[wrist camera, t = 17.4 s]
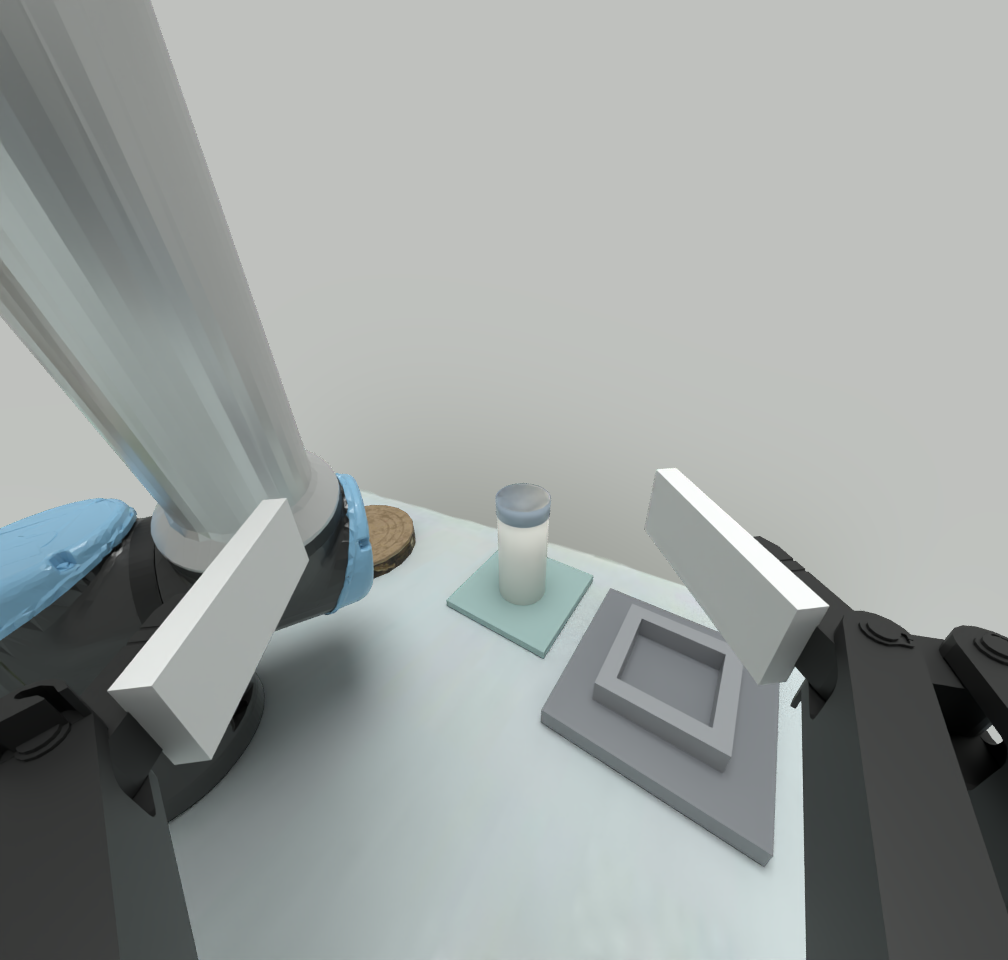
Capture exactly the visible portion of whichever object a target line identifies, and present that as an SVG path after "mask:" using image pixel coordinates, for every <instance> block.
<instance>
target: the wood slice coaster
mask: <svg viewBox="0 0 1008 960" xmlns="http://www.w3.org/2000/svg"><path fill="white" fill-rule="evenodd" d="M364 507H365V512H366V516H367V521H368V526H369V536H370V538H369V541H370V543H371V547H372V554H373V567H374V575H373V579H374V578H376V577H379V576H381V575H384V574H386V573H388V572H390V571H391V570H393V569H394V568H396V567H397V566H399V565H400V564H402V563H403V562H404V561H405V559H406V558H407V557H408V556H409V555H410V554H411V552H412V550H413V548H414V545H415V533H414V527H413V521H412V519H411V518H410V516H409V515H408V514H407V513H406V512H404V511H402V510H400V509H399V508H395V507H391V506H386V505H370V506H364Z"/></svg>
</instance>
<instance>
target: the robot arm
mask: <svg viewBox="0 0 1008 960" xmlns="http://www.w3.org/2000/svg"><path fill="white" fill-rule="evenodd" d="M0 316H1V317H2V318H3V320H4V321H5V322H6V323H7V324H8V326H9V327H10V328H11V329H12V330H13V331H14V333H15V334H16V335H17V336H18V337H19V339H20V340H21V341H22V342H23V343H24V344H25V346H26V347H27V348H28V349H29V350H30V352H31V353H32V354H33V355H34V356H35V358H36V359H37V360H38V361H39V362H40V364H41V365H42V366H43V367H44V368H45V369H46V371H47V372H48V373H49V374H50V375H51V377H52V378H53V379H54V380H55V381H56V382H57V384H58V385H59V386H60V387H61V388H62V390H63V391H64V392H65V393H66V394H67V396H68V397H69V398H70V399H71V400H72V402H73V403H74V404H75V405H76V406H77V407H78V409H79V410H80V411H81V412H82V413H83V415H84V416H85V417H86V418H87V419H88V420H89V421H90V423H91V424H92V425H93V426H94V428H95V429H96V430H97V431H98V432H99V434H100V435H101V436H102V437H103V438H104V439H105V440H106V442H107V443H108V444H109V445H110V447H111V448H112V449H113V450H114V451H115V453H116V454H117V455H118V456H119V457H120V458H121V460H122V461H123V462H124V463H125V464H126V466H127V467H128V468H129V469H130V470H131V471H132V473H133V474H134V475H135V476H136V477H137V479H138V480H139V481H140V482H141V483H142V484H143V486H144V487H145V488H146V489H147V490H148V492H149V493H150V494H151V495H152V496H153V498H154V499H155V500H156V501H157V502H158V503H157V505H156V508H155V510H154V512H153V515H152V516H151V517H146V518H137V517H136V515H137V513H136V511H135V510H134V508H132V507H129V506H128V505H127V504H126V503H124V502H122V501H121V500H117V499H103V498H96V499H89V500H84V501H79V502H74V503H70V504H66V505H63V506H59V507H56V508H53V509H49V510H46V511H43V512H41V513H38V514H35V515H32V516H29V517H27V518H24V519H21V520H19V521H16V522H14V523H12V524H9V525H7V526H4V527H2V528H0V960H198V956H197V952H196V947H195V943H194V938H193V934H192V929H191V925H190V921H189V916H188V912H187V907H186V903H185V898H184V894H183V889H182V885H181V881H180V876H179V872H178V867H177V863H176V858H175V854H174V849H173V845H172V841H171V836H170V832H169V827H168V823H167V822H168V821H170V820H172V819H173V818H175V817H176V816H178V815H179V814H181V813H182V812H184V811H185V810H186V809H188V808H189V807H190V806H192V805H193V804H194V803H196V802H197V801H198V800H199V799H200V798H202V797H203V796H204V795H205V794H206V793H207V792H208V791H210V790H211V789H212V788H213V787H214V786H215V785H216V784H217V783H218V782H219V781H220V780H221V779H222V778H223V777H224V776H225V774H226V773H227V772H228V771H229V770H230V769H231V768H232V766H233V765H234V764H235V763H236V761H237V760H238V759H239V757H240V756H241V755H242V753H243V752H244V750H245V749H246V747H247V746H248V744H249V742H250V741H251V739H252V737H253V735H254V733H255V731H256V729H257V727H258V724H259V722H260V719H261V716H262V712H263V707H264V690H263V686H262V683H261V681H260V679H259V677H258V676H257V674H256V672H255V670H256V668H257V666H258V664H259V662H260V659H261V657H262V655H263V653H264V651H265V649H266V647H267V645H268V643H269V641H270V639H271V637H272V635H273V633H274V631H277V630H280V629H283V628H286V627H289V626H291V625H294V624H297V623H300V622H303V621H306V620H308V619H311V618H314V617H317V616H320V615H323V614H325V615H329V614H333V613H335V612H336V611H337V610H339V608H342V607H344V606H347V605H349V604H352V603H354V602H356V601H359V600H361V599H362V598H364V597H365V596H366V595H367V594H368V592H369V591H370V589H371V587H372V583H373V575H374V567H373V554H372V547H371V543H370V541H369V538H370V536H369V526H368V521H367V516H366V512H365V507H364V503H363V500H362V496H361V493H360V490H359V487H358V485H357V483H356V481H355V479H354V478H353V477H352V476H351V475H348V474H338V473H336V474H335V473H334V471H333V469H332V468H331V466H330V465H329V464H328V463H327V462H326V461H325V460H324V459H323V458H321V457H320V456H318V455H316V454H314V453H312V452H310V451H308V450H305V448H304V445H303V442H302V440H301V437H300V434H299V431H298V428H297V425H296V422H295V420H294V416H293V414H292V411H291V408H290V405H289V402H288V399H287V396H286V393H285V390H284V387H283V384H282V382H281V379H280V376H279V373H278V370H277V367H276V364H275V361H274V358H273V355H272V353H271V350H270V347H269V344H268V341H267V338H266V335H265V332H264V329H263V326H262V323H261V320H260V318H259V315H258V312H257V309H256V306H255V303H254V300H253V297H252V294H251V291H250V289H249V285H248V283H247V280H246V277H245V274H244V271H243V268H242V265H241V262H240V259H239V256H238V254H237V251H236V248H235V245H234V242H233V239H232V236H231V233H230V230H229V228H228V224H227V222H226V219H225V216H224V213H223V210H222V207H221V204H220V201H219V198H218V195H217V193H216V190H215V187H214V184H213V181H212V178H211V175H210V172H209V169H208V166H207V163H206V160H205V158H204V155H203V152H202V149H201V146H200V143H199V140H198V137H197V134H196V131H195V129H194V126H193V123H192V120H191V117H190V115H189V111H188V108H187V105H186V103H185V100H184V97H183V94H182V91H181V88H180V85H179V82H178V79H177V77H176V73H175V70H174V68H173V65H172V62H171V59H170V56H169V53H168V50H167V47H166V44H165V42H164V38H163V35H162V33H161V30H160V27H159V24H158V21H157V18H156V15H155V12H154V9H153V7H152V4H151V1H150V0H0ZM644 530H645V531H646V532H647V533H648V535H649V536H650V538H651V539H652V540H653V542H654V543H655V545H656V546H657V547H658V549H659V550H660V551H661V553H662V554H663V555H664V557H665V558H666V560H667V561H668V562H669V564H670V565H671V566H672V568H673V569H674V571H675V572H676V573H677V575H678V576H679V577H680V579H681V580H682V582H683V583H684V584H685V586H686V587H687V588H688V590H689V591H690V592H691V594H692V595H693V597H694V598H695V599H696V601H697V602H698V603H699V605H700V606H701V607H702V609H703V610H704V612H705V613H706V614H707V616H708V617H709V618H710V620H711V621H712V623H713V624H714V625H715V627H716V628H717V629H718V631H719V632H720V633H721V635H722V636H723V638H724V639H725V640H726V642H727V643H728V644H729V646H730V647H731V648H732V650H733V651H734V653H735V654H736V655H737V657H738V658H739V659H740V661H741V662H742V664H743V665H744V666H745V668H746V669H747V670H748V672H749V673H750V674H751V676H752V677H753V679H754V680H755V681H756V683H757V684H758V685H765V684H773V683H780V682H786V681H787V679H788V678H789V676H790V674H791V673H792V671H793V669H794V667H796V668H797V669H798V670H799V671H800V672H801V674H802V675H803V676H804V677H805V680H804V682H803V683H802V685H801V686H800V688H799V690H798V691H797V693H796V695H795V696H794V698H793V700H792V703H791V707H793V708H796V707H797V706H798V704H799V702H800V701H801V703H802V757H803V811H804V865H805V919H806V960H1008V638H1007V637H1005V636H1002V635H1000V634H998V633H995V632H993V631H989V630H986V629H982V628H979V627H975V626H964V625H963V626H959V627H956V628H954V629H953V630H952V631H951V633H950V634H949V635H948V636H947V637H946V639H945V640H943V639H936V638H929V637H922V636H916V635H911V634H909V633H908V632H907V631H906V630H905V629H904V628H902V627H901V626H899V625H897V624H896V623H894V622H893V621H891V620H889V619H887V618H884V617H882V616H879V615H877V614H874V613H869V612H865V611H854V610H852V609H851V608H850V607H849V606H848V605H847V604H845V603H844V602H843V601H842V600H841V599H840V598H838V597H837V596H836V595H835V594H834V593H833V592H831V591H830V590H829V589H828V588H827V587H825V586H824V585H823V584H822V583H821V582H820V581H819V580H817V579H816V578H815V577H814V576H813V575H812V574H810V573H809V572H806V571H805V568H803V567H802V566H801V565H800V564H799V563H798V562H796V561H793V558H792V557H790V556H789V555H788V554H787V553H786V552H785V551H783V550H782V549H781V548H780V547H778V546H777V545H775V544H773V543H772V542H770V541H768V540H766V539H764V538H762V537H760V536H757V537H752V536H751V535H750V534H749V533H748V532H747V531H746V530H744V529H743V528H742V527H741V526H740V525H739V524H738V523H737V522H735V521H734V520H733V519H732V518H731V517H730V516H729V515H728V514H727V513H725V512H724V511H723V510H722V509H721V508H720V507H719V506H718V505H717V504H715V503H714V502H713V501H712V500H711V499H710V498H709V497H708V496H707V495H705V494H704V493H703V492H702V491H701V490H700V489H699V488H698V487H697V486H695V485H694V484H693V483H692V482H691V481H690V480H689V479H688V478H687V477H685V476H684V475H683V474H682V473H681V472H680V471H679V470H678V469H677V468H668V469H657V470H656V473H655V478H654V483H653V488H652V493H651V498H650V503H649V508H648V513H647V518H646V523H645V528H644ZM991 725H993V726H994V727H995V729H996V730H997V731H998V733H999V734H1000V735H1001V737H1002V739H1003V741H1002V742H1001V743H999V744H996V742H995V741H994V740H993V739H992V738H991V736H990V735H989V733H988V732H987V731H986V730H987V729H988V728H989V727H990V726H991Z"/></svg>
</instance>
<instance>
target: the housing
mask: <svg viewBox="0 0 1008 960" xmlns="http://www.w3.org/2000/svg"><path fill="white" fill-rule="evenodd" d="M778 710H779V683H773V684H765V685H758V684H757V683H756V681H755V680H754V679H753V677H752V676H751V674H750V673H749V672H748V670H747V669H746V668H745V666H744V665H743V664H742V662H741V661H740V659H739V658H738V657H737V655H736V654H735V653H734V651H733V650H732V648H731V647H730V646H729V644H728V643H727V642H726V640H725V639H724V638H723V636H722V635H721V633H720V632H717V631H715V630H712V629H710V628H707V627H705V626H703V625H700V624H698V623H695V622H693V621H690V620H688V619H685V618H683V617H680V616H678V615H675V614H673V613H670V612H668V611H666V610H663V609H661V608H658V607H656V606H653V605H651V604H648V603H646V602H643V601H641V600H638V599H636V598H634V597H631V596H629V595H626V594H624V593H621V592H619V591H616V590H614V589H611V588H610V590H609V591H608V593H607V595H606V597H605V598H604V600H603V602H602V604H601V606H600V607H599V609H598V611H597V613H596V614H595V616H594V618H593V620H592V621H591V623H590V625H589V627H588V629H587V630H586V632H585V634H584V636H583V637H582V639H581V641H580V643H579V644H578V646H577V648H576V650H575V652H574V653H573V655H572V657H571V659H570V660H569V662H568V664H567V666H566V667H565V669H564V671H563V673H562V675H561V676H560V678H559V680H558V682H557V683H556V685H555V687H554V689H553V690H552V692H551V694H550V696H549V698H548V699H547V701H546V703H545V705H544V706H543V708H542V710H541V722H542V723H543V724H545V725H546V726H548V727H549V728H551V729H552V730H554V731H555V732H557V733H559V734H560V735H562V736H563V737H565V738H566V739H568V740H569V741H571V742H572V743H574V744H575V745H577V746H579V747H580V748H582V749H583V750H585V751H586V752H588V753H589V754H591V755H592V756H594V757H596V758H597V759H599V760H600V761H602V762H603V763H605V764H606V765H608V766H609V767H611V768H612V769H614V770H616V771H617V772H619V773H620V774H622V775H623V776H625V777H626V778H628V779H629V780H631V781H633V782H634V783H636V784H637V785H639V786H640V787H642V788H643V789H645V790H646V791H648V792H649V793H651V794H653V795H654V796H656V797H657V798H659V799H660V800H662V801H663V802H665V803H666V804H668V805H670V806H671V807H673V808H674V809H676V810H677V811H679V812H680V813H682V814H683V815H685V816H687V817H688V818H690V819H691V820H693V821H694V822H696V823H697V824H699V825H700V826H702V827H703V828H705V829H707V830H708V831H710V832H711V833H713V834H714V835H716V836H717V837H719V838H720V839H722V840H724V841H725V842H727V843H728V844H730V845H731V846H733V847H734V848H736V849H737V850H739V851H740V852H742V853H744V854H745V855H747V856H748V857H750V858H751V859H753V860H754V861H756V862H757V863H759V864H761V865H762V866H765V865H766V864H767V863H768V861H769V860H770V859H771V858H772V857H773V845H774V818H775V791H776V764H777V737H778Z"/></svg>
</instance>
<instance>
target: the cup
mask: <svg viewBox="0 0 1008 960" xmlns="http://www.w3.org/2000/svg"><path fill="white" fill-rule="evenodd" d="M550 503H551V496H550V494H549V492H548V491H547V490H545V489H544V488H542V487H540V486H537V485H534V484H527V483H526V484H525V483H520V484H512V485H508V486H506V487H504V488H502V489H501V490H499V491H498V493H497V494H496V515H497V528H498V560H499V590H500V593H501V595H502V597H503V598H504V599H505V600H507V601H508V602H510V603H512V604H515V605H531V604H534V603H536V602H537V601H539V600H540V599H541V598H542V597H543V595H544V593H545V583H546V564H547V545H548V525H549V515H550Z"/></svg>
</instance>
